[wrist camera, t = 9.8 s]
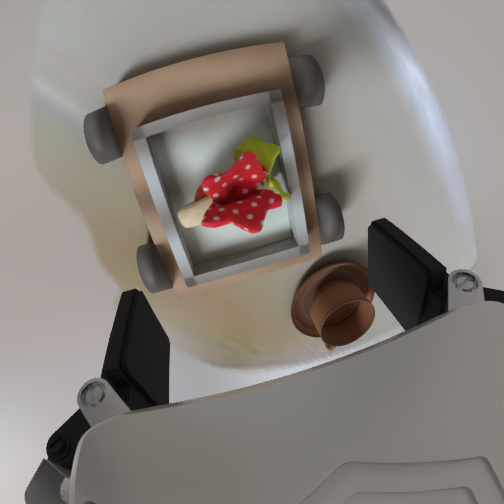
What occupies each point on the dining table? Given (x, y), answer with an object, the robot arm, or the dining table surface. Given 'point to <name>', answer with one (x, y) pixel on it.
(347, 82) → the dining table surface
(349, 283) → the cup and saucer
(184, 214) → the bird rattle
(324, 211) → the chassis
